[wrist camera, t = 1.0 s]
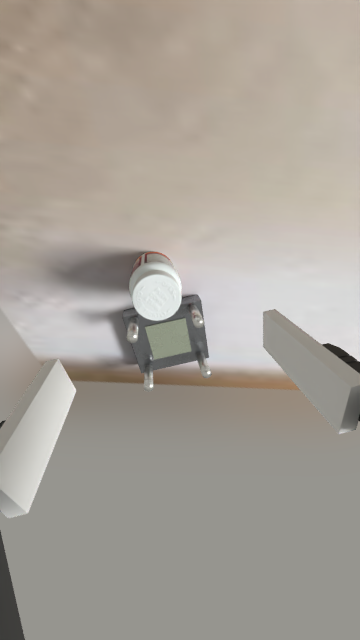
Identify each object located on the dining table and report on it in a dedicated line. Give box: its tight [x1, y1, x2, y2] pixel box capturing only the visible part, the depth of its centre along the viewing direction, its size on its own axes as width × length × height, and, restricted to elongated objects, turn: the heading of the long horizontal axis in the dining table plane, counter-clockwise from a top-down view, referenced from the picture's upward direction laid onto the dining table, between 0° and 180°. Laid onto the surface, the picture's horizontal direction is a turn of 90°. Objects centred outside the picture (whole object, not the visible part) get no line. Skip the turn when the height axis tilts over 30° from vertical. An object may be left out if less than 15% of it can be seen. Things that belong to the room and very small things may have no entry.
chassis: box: [123, 295, 211, 391], centre depth 34 cm, size 11×12×8 cm
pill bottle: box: [129, 252, 182, 321], centre depth 27 cm, size 6×6×11 cm
